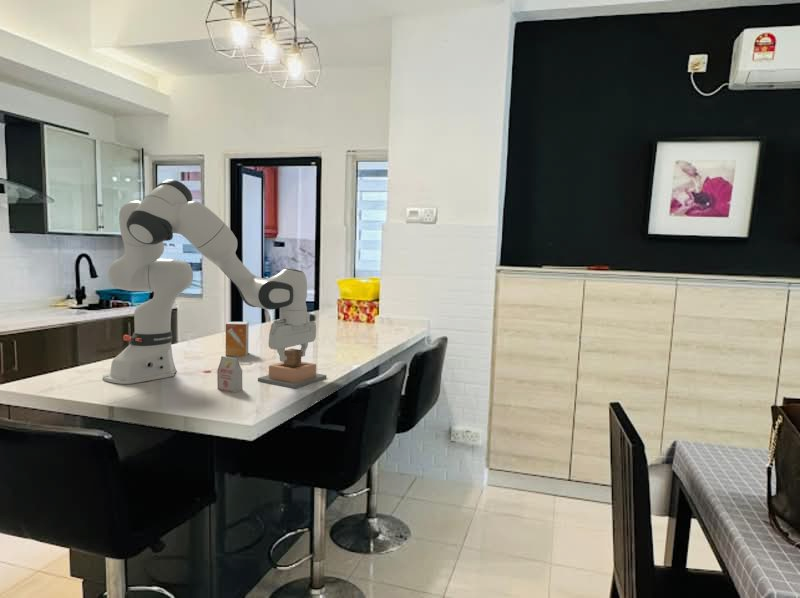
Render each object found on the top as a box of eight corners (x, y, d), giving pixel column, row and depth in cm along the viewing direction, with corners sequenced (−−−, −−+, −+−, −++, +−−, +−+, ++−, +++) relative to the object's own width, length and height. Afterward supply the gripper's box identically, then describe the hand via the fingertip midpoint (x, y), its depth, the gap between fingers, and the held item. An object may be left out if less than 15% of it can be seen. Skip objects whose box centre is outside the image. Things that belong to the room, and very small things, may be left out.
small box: (225, 356, 208) (225, 323, 206) (228, 352, 214) (228, 321, 213) (246, 356, 209) (246, 323, 207) (248, 352, 215) (248, 321, 214)
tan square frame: (295, 388, 164) (296, 372, 163) (257, 381, 171) (257, 366, 171) (326, 378, 178) (326, 363, 177) (290, 371, 186) (290, 357, 185)
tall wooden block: (293, 378, 172) (293, 351, 171) (283, 377, 174) (284, 350, 173) (301, 376, 175) (301, 349, 174) (291, 374, 177) (292, 348, 176)
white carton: (226, 386, 164) (226, 355, 163) (242, 389, 161) (242, 358, 160) (217, 389, 161) (217, 357, 160) (233, 392, 158) (233, 360, 157)
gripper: (279, 322, 162) (278, 365, 163) (319, 315, 180) (318, 354, 181) (263, 320, 165) (263, 363, 166) (305, 313, 183) (304, 352, 184)
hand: (292, 358), depth 174 cm, fingers open, 8 cm apart
